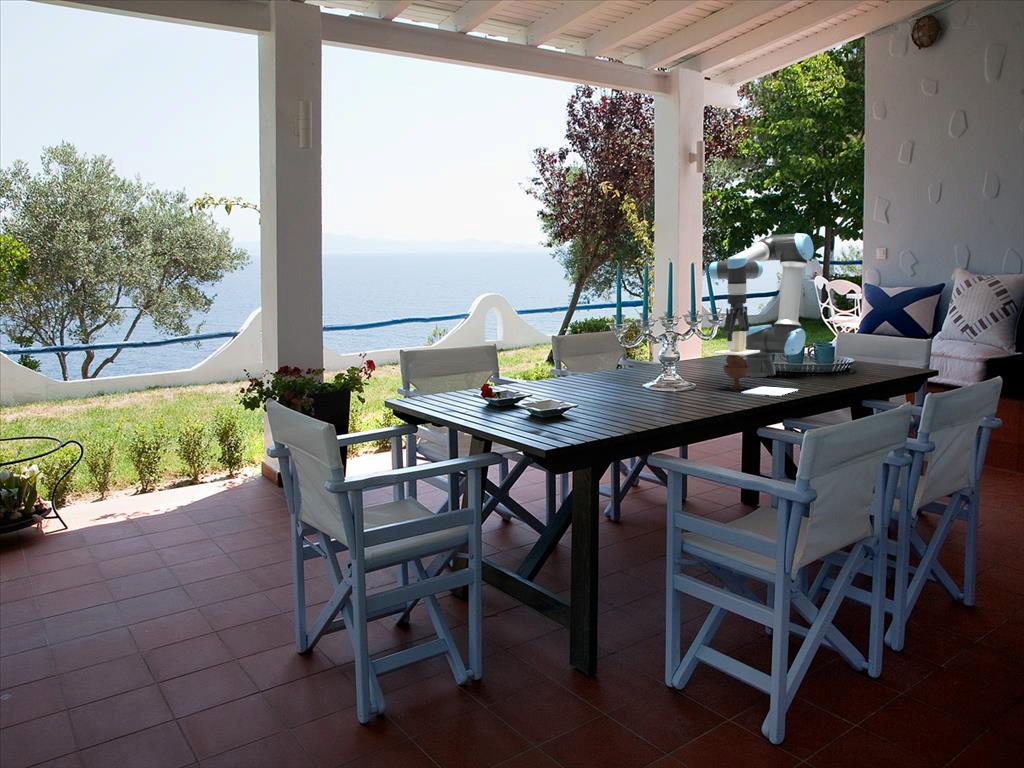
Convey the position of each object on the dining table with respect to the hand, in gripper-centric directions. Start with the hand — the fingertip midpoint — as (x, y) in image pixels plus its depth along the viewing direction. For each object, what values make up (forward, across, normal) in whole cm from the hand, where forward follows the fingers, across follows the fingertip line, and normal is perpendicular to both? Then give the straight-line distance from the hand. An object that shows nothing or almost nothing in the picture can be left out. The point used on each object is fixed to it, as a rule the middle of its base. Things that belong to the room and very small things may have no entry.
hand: (736, 347), depth 353 cm
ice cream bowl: (+17, 0, 0) cm, 17 cm away
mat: (+17, +2, +16) cm, 24 cm away
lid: (+2, 0, 0) cm, 2 cm away
